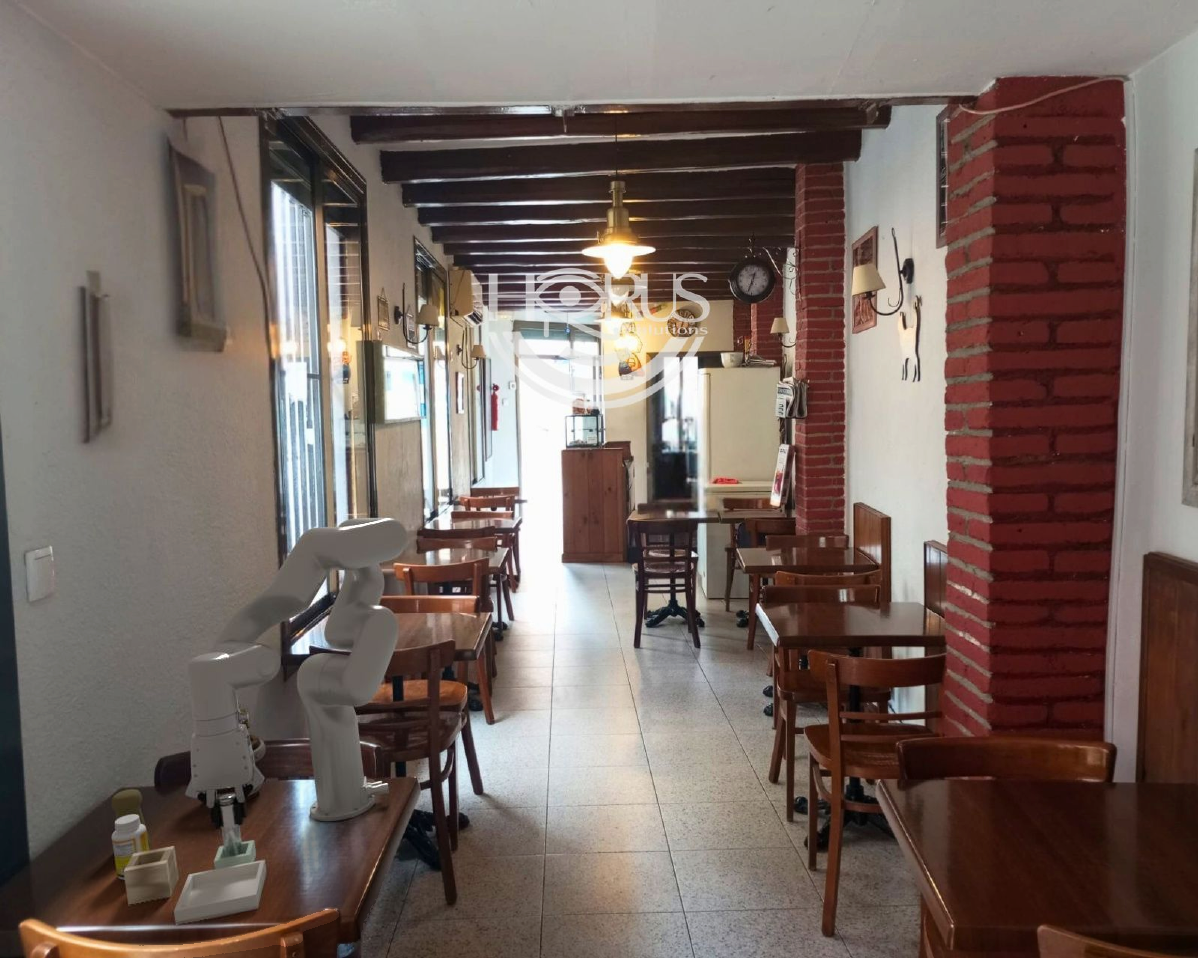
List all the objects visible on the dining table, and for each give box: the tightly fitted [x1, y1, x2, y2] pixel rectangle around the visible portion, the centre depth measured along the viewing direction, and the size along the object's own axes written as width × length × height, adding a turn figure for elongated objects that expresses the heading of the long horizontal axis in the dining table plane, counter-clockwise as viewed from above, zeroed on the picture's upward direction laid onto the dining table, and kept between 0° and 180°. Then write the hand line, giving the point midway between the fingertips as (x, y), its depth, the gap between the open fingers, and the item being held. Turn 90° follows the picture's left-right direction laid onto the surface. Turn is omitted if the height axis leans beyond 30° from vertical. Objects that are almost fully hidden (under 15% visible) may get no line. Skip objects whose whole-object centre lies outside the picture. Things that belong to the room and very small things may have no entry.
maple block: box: [124, 845, 180, 906], centre depth 159 cm, size 7×7×6 cm
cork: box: [110, 788, 152, 847], centre depth 178 cm, size 6×6×11 cm
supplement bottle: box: [111, 814, 150, 881], centre depth 167 cm, size 6×6×10 cm
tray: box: [173, 859, 267, 925], centre depth 155 cm, size 12×12×2 cm
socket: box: [213, 839, 257, 869], centre depth 166 cm, size 6×6×3 cm
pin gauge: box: [218, 794, 243, 857], centre depth 166 cm, size 3×3×11 cm
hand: (230, 822), depth 165 cm, fingers closed on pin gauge, 3 cm apart
